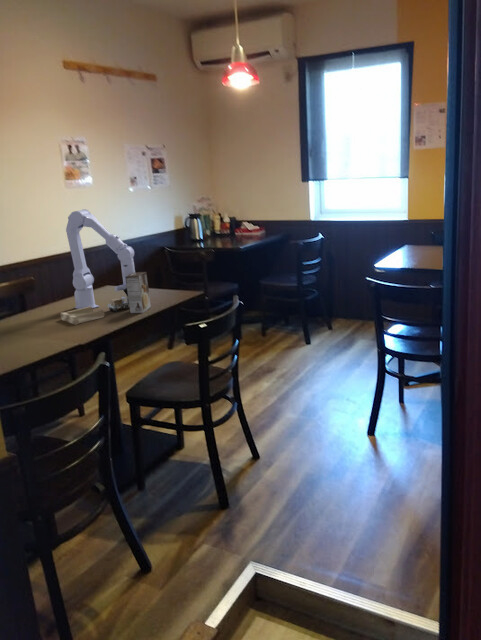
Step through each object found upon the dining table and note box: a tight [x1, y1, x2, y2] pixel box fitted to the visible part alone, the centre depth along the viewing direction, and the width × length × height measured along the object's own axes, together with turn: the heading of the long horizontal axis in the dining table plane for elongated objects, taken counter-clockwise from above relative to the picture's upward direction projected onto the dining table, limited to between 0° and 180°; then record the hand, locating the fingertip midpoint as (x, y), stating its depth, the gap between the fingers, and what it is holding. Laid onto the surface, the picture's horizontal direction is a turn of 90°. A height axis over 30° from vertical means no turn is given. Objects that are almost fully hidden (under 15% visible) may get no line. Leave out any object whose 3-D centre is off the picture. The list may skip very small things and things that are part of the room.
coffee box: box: [125, 271, 152, 314], centre depth 241 cm, size 9×6×16 cm
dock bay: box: [59, 306, 105, 326], centre depth 236 cm, size 14×14×3 cm
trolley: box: [107, 296, 130, 313], centre depth 247 cm, size 6×8×5 cm
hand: (132, 303), depth 251 cm, fingers closed
